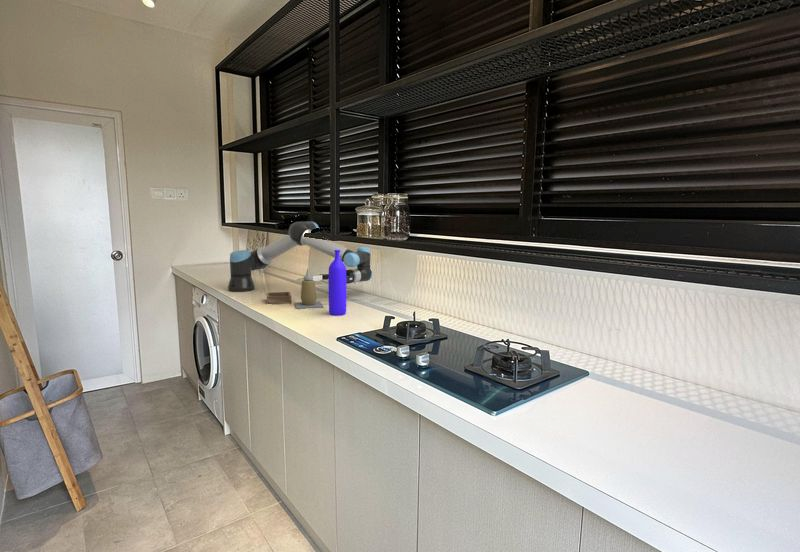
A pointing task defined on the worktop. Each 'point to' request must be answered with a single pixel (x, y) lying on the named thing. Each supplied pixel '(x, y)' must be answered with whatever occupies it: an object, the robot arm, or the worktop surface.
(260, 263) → the robot arm
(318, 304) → the mat
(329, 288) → the bottle
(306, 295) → the squeeze bottle
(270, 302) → the holder
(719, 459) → the worktop surface
